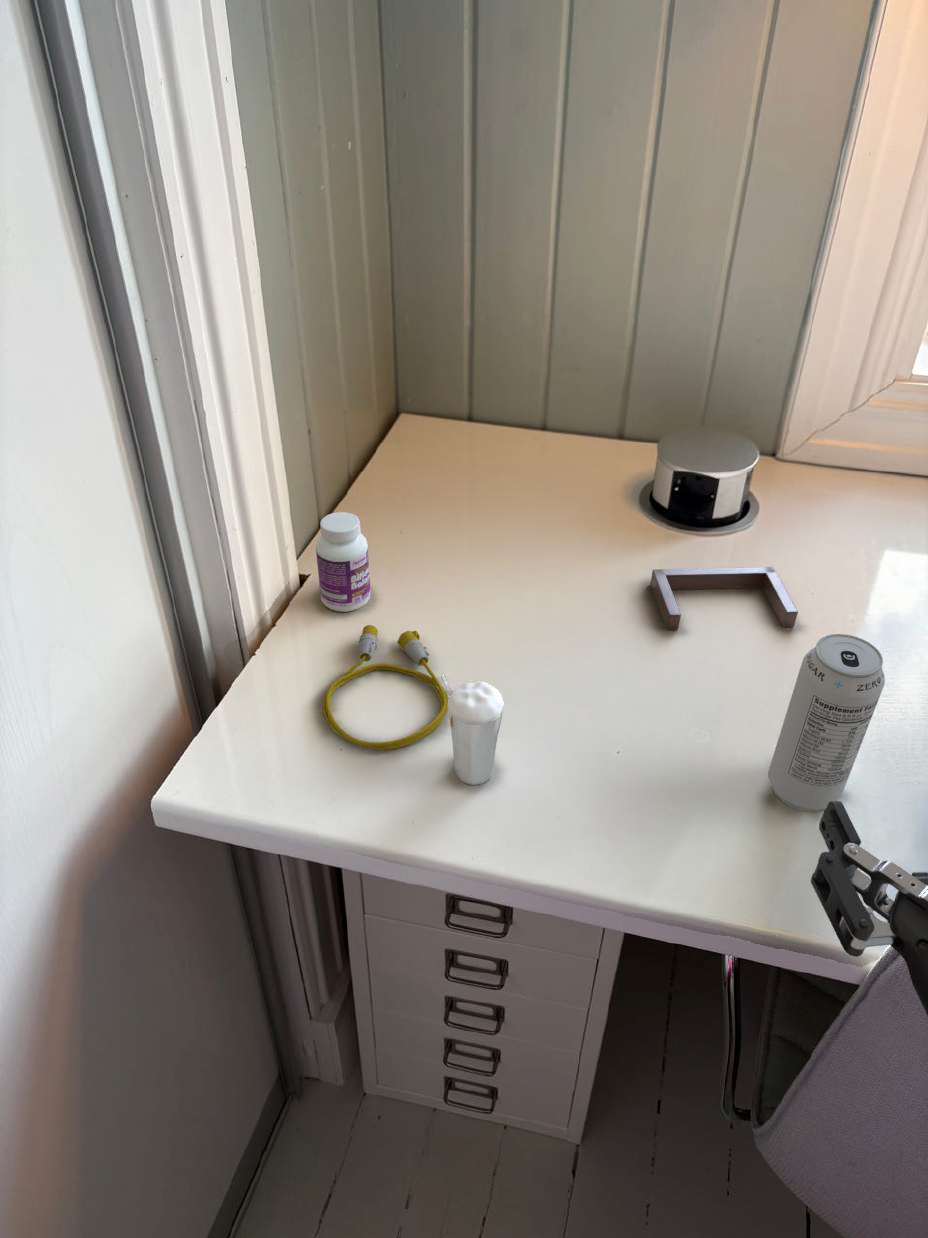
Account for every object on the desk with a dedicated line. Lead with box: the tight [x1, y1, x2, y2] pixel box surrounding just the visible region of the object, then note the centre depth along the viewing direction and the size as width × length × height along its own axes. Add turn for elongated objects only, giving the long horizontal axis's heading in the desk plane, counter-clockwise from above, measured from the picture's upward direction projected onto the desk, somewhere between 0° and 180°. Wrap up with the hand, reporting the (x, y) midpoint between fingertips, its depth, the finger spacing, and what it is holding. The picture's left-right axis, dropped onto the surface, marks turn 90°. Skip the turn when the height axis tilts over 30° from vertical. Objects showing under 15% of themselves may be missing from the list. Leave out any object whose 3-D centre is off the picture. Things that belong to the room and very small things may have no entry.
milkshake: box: [440, 672, 505, 786], centre depth 77 cm, size 4×5×10 cm
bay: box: [649, 566, 799, 631], centre depth 99 cm, size 8×13×2 cm, turn 93°
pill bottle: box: [315, 511, 371, 613], centre depth 97 cm, size 5×5×10 cm
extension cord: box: [322, 624, 449, 751], centre depth 87 cm, size 12×16×2 cm
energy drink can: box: [767, 633, 886, 813], centre depth 74 cm, size 6×6×15 cm
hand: (891, 807), depth 64 cm, fingers open, 8 cm apart
